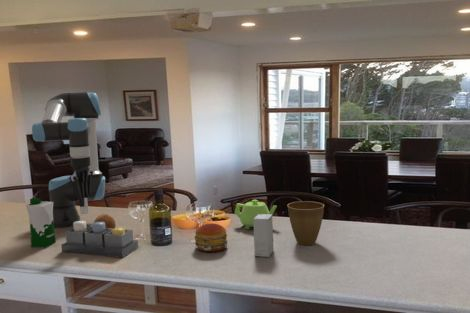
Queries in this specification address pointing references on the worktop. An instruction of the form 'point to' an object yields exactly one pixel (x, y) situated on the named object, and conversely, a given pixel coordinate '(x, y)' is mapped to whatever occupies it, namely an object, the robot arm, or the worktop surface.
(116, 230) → the mustard button
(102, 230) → the slate button
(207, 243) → the burger
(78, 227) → the cream button
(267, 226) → the skincare box
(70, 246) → the grey frame
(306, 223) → the plant pot
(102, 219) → the onion
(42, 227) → the milk carton
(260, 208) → the teapot
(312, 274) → the worktop surface
